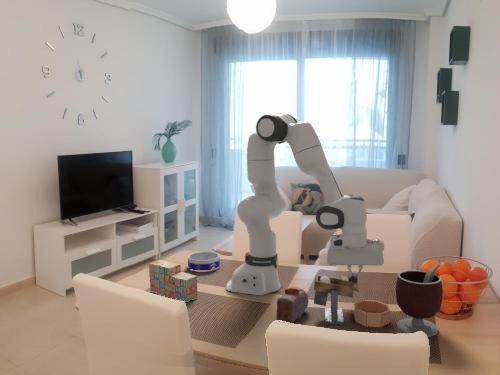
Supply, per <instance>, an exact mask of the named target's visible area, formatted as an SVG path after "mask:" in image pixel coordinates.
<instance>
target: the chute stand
mask: <svg viewBox="0 0 500 375" xmlns="http://www.w3.org/2000/svg"><path fill="white" fill-rule="evenodd" d="M338 297H339V295H338V290H333V289H331V293H330V307H324V323H325V325H332V324H339V325H338V326H344V325H345V322H344V321H345V320H344V313H343V312H344V311H343V308H338V306H339V304H338V303H339V299H338Z"/></svg>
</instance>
